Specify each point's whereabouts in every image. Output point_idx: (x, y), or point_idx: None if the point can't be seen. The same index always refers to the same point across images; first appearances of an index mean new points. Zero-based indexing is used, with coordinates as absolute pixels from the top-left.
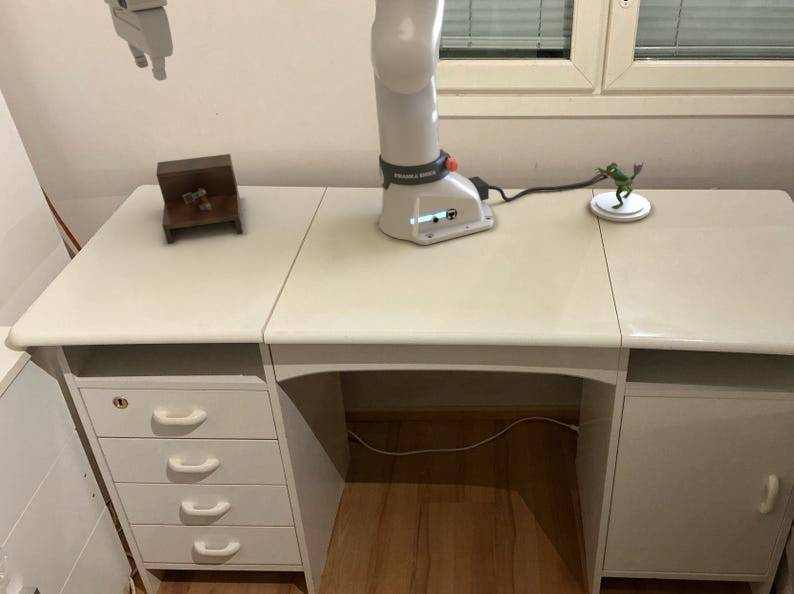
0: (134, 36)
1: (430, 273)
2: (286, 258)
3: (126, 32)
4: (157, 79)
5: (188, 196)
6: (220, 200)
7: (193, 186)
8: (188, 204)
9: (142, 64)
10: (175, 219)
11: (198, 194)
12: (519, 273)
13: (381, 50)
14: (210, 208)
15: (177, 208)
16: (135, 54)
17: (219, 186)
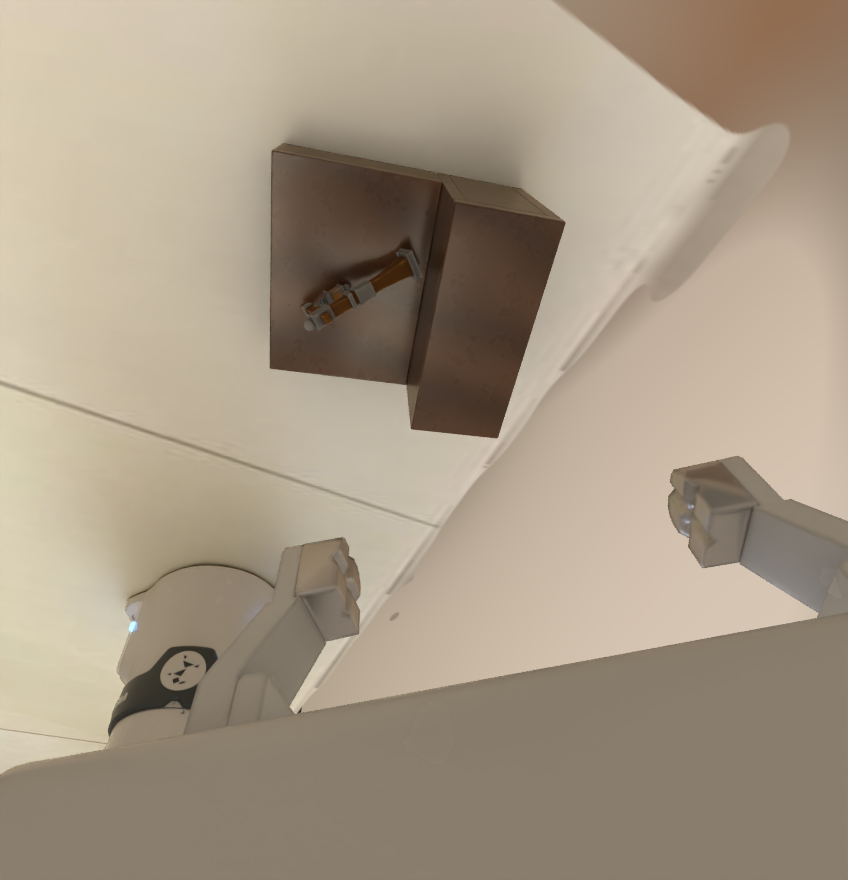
0: (438, 856)
1: (23, 587)
2: (123, 406)
3: (798, 776)
4: (284, 551)
5: (392, 267)
6: (381, 340)
7: (427, 296)
8: (393, 254)
9: (685, 500)
10: (299, 199)
11: (332, 304)
12: (13, 667)
13: None
14: (303, 312)
15: (380, 217)
16: (772, 528)
17: (414, 360)
